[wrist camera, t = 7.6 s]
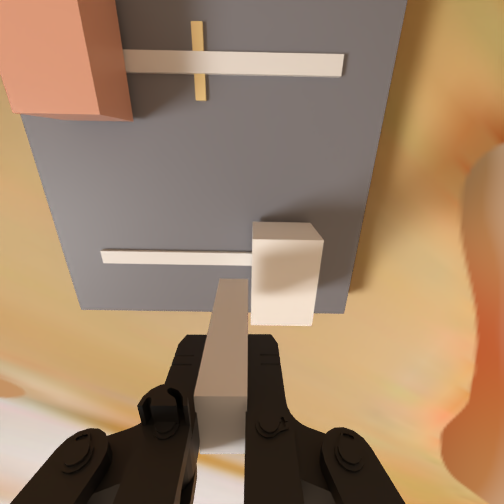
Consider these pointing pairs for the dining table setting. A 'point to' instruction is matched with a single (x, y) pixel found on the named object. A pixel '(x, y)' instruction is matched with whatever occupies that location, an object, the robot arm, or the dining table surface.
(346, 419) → the dining table surface
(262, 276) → the fader
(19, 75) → the fader
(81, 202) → the slider panel
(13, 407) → the dining table surface
